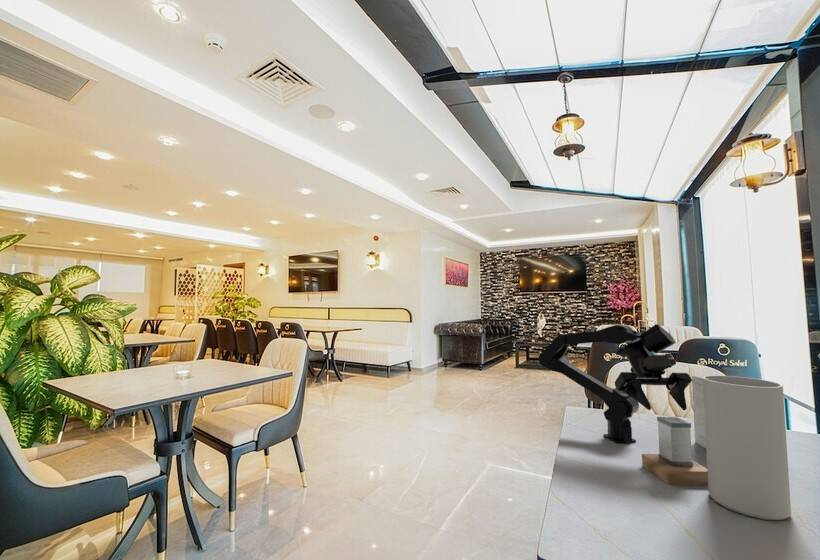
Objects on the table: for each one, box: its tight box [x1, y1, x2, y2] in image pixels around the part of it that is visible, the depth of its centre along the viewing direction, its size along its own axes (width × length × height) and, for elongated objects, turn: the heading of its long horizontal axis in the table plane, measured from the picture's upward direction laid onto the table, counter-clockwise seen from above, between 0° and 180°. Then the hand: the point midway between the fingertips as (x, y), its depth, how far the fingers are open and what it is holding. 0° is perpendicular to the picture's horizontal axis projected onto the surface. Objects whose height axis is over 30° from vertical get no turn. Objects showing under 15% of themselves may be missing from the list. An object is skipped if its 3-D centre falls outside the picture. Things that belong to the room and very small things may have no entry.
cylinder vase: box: [703, 375, 792, 521], centre depth 77 cm, size 12×12×25 cm
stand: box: [641, 453, 708, 486], centre depth 89 cm, size 10×10×3 cm
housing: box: [656, 416, 693, 467], centre depth 90 cm, size 5×5×10 cm
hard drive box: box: [691, 375, 706, 449], centre depth 104 cm, size 16×8×20 cm, turn 169°
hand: (667, 409), depth 98 cm, fingers open, 9 cm apart
